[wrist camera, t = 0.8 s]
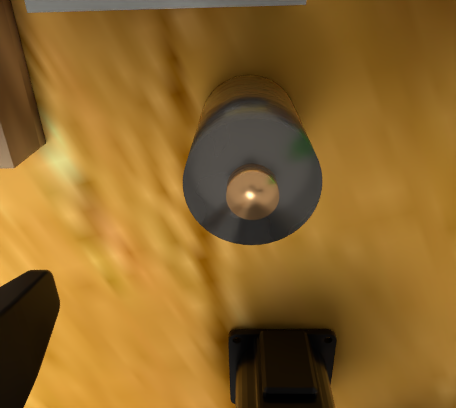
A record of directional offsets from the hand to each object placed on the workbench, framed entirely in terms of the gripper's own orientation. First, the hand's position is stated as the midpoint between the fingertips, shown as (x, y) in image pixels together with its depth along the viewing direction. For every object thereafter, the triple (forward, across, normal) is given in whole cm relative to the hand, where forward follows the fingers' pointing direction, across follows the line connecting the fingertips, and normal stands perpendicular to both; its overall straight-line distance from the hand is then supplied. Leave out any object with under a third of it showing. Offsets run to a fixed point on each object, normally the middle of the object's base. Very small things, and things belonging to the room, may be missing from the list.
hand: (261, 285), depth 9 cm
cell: (+12, 0, 0) cm, 12 cm away
